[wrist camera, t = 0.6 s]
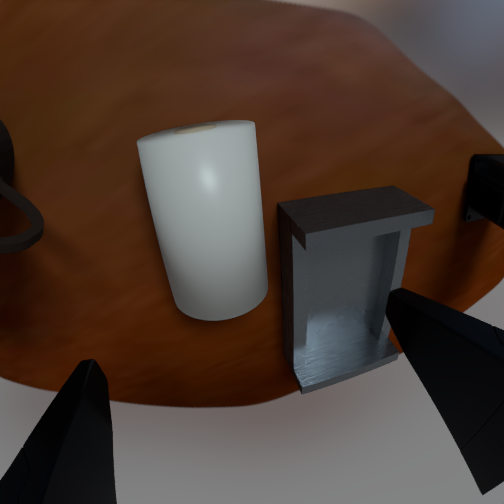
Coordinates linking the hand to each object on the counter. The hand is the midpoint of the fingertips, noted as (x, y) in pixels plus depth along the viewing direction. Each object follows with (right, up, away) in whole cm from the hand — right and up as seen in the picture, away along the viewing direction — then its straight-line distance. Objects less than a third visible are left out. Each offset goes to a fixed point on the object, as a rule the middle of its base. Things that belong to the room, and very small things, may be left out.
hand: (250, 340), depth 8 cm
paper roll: (-3, +5, +10) cm, 12 cm away
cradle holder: (+7, 0, +15) cm, 17 cm away
